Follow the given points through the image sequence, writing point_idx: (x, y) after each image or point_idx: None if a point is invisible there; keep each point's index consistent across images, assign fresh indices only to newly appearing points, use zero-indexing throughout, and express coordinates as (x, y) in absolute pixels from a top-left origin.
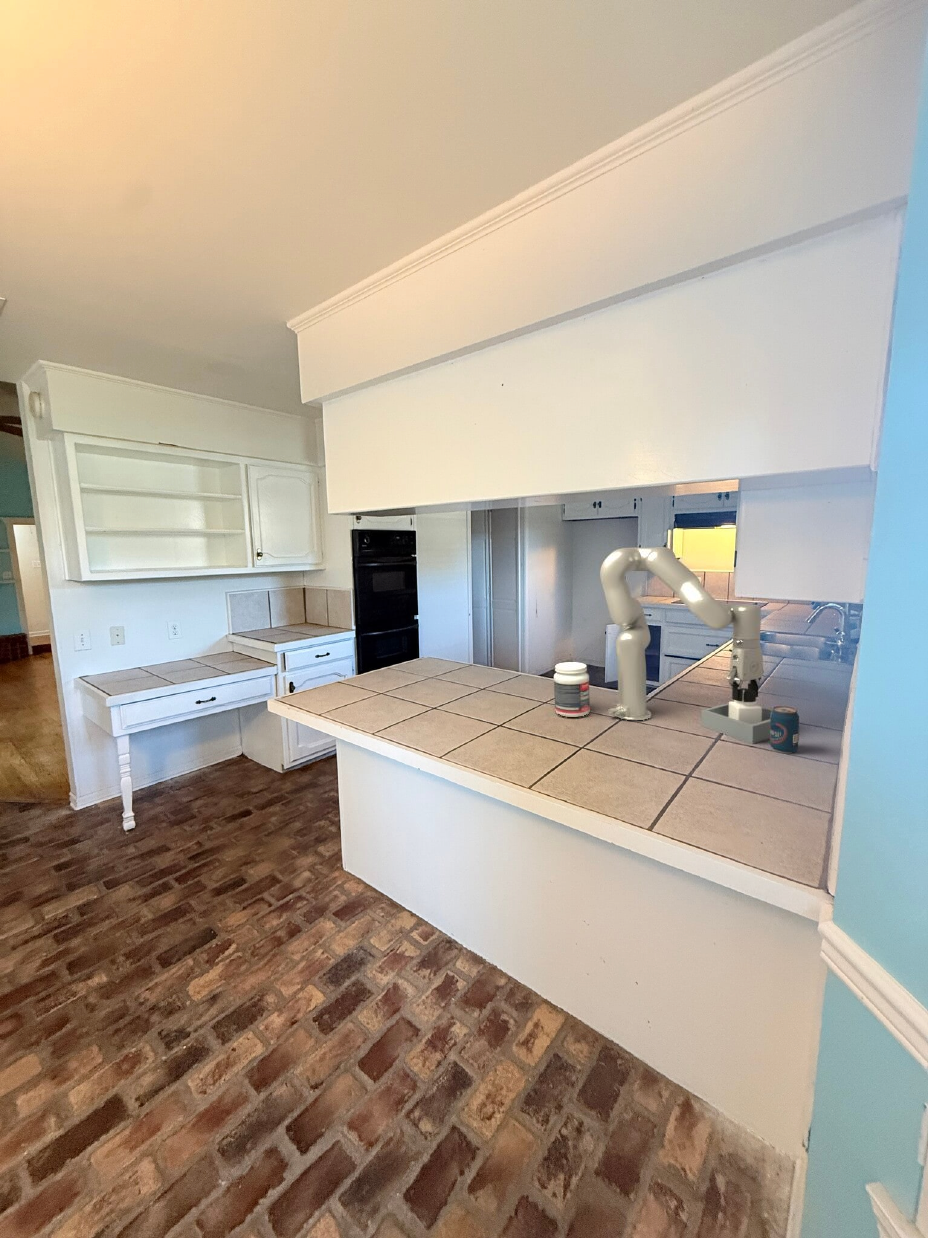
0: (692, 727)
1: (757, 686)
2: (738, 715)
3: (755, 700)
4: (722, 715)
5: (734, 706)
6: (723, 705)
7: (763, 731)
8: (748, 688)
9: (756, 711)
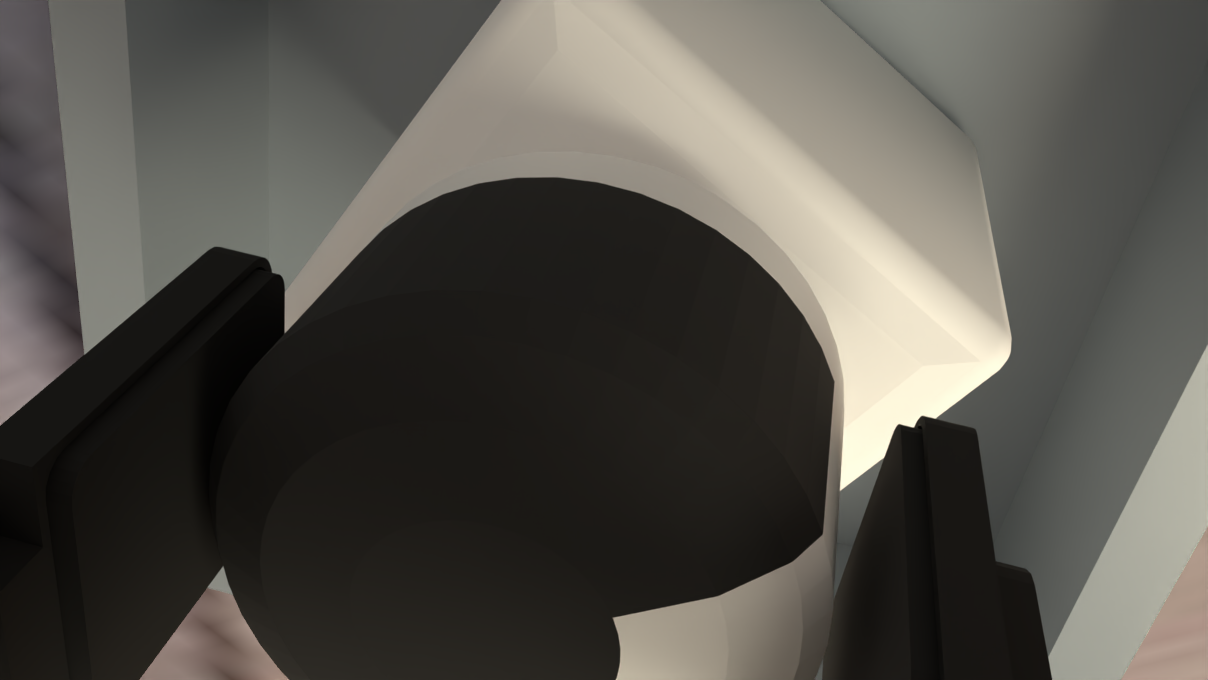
0: (1143, 663)
1: (50, 441)
2: (997, 266)
3: (510, 186)
4: (1145, 495)
5: (859, 473)
6: None
7: None
8: (181, 603)
9: (686, 14)
